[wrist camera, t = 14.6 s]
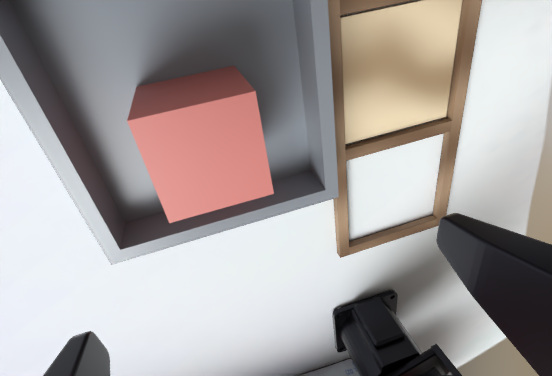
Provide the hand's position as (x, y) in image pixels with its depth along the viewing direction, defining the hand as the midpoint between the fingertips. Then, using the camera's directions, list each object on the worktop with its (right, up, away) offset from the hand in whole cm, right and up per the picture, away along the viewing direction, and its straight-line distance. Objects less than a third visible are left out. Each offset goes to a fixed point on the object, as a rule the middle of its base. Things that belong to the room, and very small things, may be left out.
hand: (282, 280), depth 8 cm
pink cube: (-4, +6, +10) cm, 12 cm away
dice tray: (-5, +7, +10) cm, 13 cm away
